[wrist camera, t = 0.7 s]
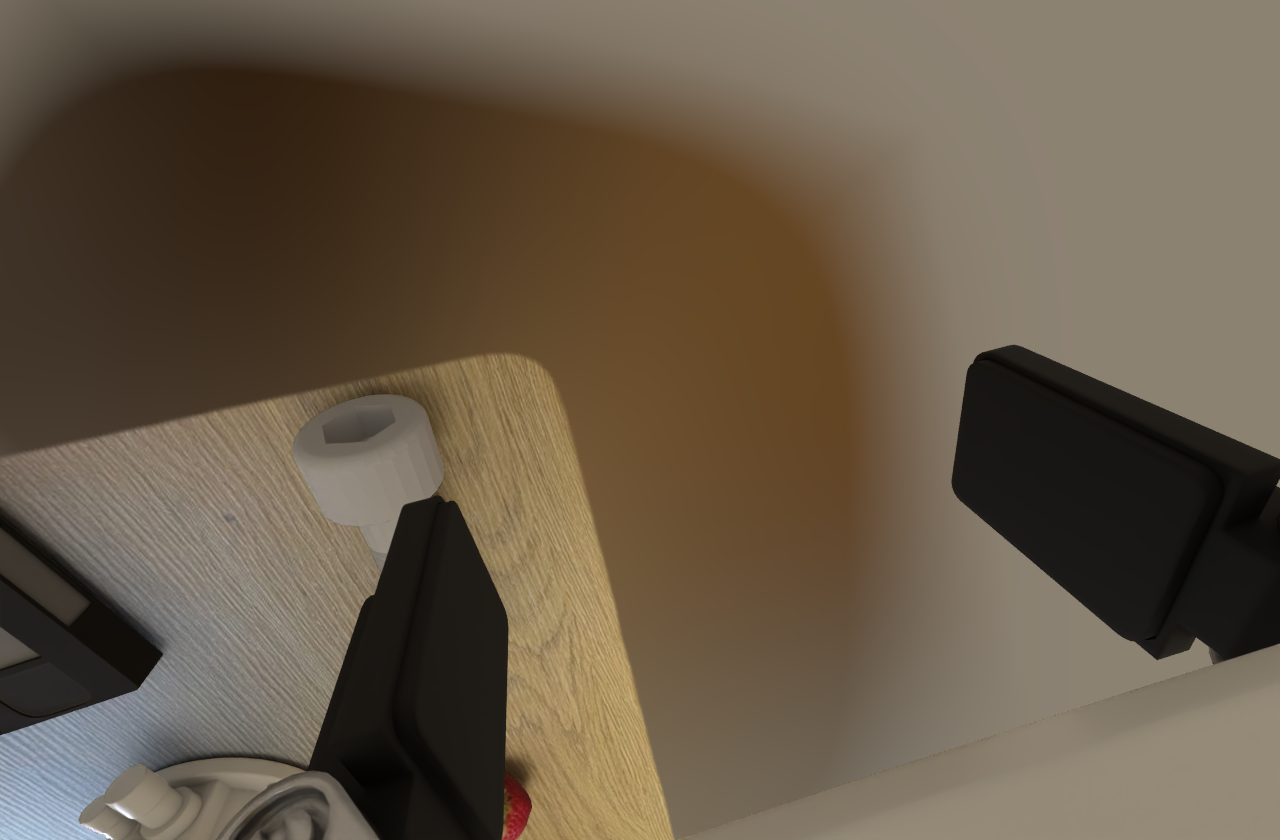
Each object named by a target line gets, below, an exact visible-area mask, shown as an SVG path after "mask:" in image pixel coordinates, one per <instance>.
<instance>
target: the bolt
mask: <svg viewBox="0 0 1280 840" xmlns="http://www.w3.org/2000/svg"><path fill="white" fill-rule="evenodd" d="M292 454H293V457H294V460H295V462H296V464H297V466H298V467H299V469H300V471H301V473H302V475H303V477H304V479H305V481H306V483H307V484H308V486H309V488H310V490H311V492H312V494H313V496H314V498H315V500H316V501H317V503H318V505H319V507H320V509H321V511H322V513H323V515H324V516H325V517H326V518H328V519H329V520H330V521H332V522H335V523H337V524H340V525H344V526H359V528H360V530H361V532H362V534H363V536H364V538H365V540H366V542H367V544H368V546H369V549H370V551H371V553H372V555H373V557H374V559H375V561H376V563H377V565H378V567H379V569H380V571H381V573H382V569H383V566H384V563H385V560H386V557H387V554H388V550H389V547H390V544H391V541H392V538H393V534H394V531H395V528H396V525H397V522H398V519H399V515H400V512H401V509H402V507H403V505H405V504H408V503H411V502H415V501H419V500H423V499H427V498H430V497H431V496H432V495H433V494H434V493H435V492H436V491H437V489H438V488H439V486H440V484H441V483H442V481H443V478H444V474H445V467H444V464H443V461H442V458H441V455H440V451H439V448H438V445H437V442H436V439H435V436H434V433H433V430H432V427H431V424H430V421H429V418H428V415H427V412H426V411H425V409H424V408H423V407H422V405H421V404H420V403H418V402H416V401H415V400H413V399H411V398H408V397H405V396H400V395H393V394H379V395H369V396H364V397H359V398H355V399H352V400H349V401H345V402H343V403H340V404H338V405H335V406H333V407H331V408H329V409H327V410H325V411H323V412H321V413H320V414H318V415H317V416H315V417H314V418H312V419H311V420H310V421H309V422H308V423H307V424H306V425H305V426H303V427H302V428H301V429H300V431H299V432H298V434H297V435H296V437H295V439H294V442H293V446H292Z"/></svg>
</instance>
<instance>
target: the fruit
mask: <svg viewBox="0 0 1280 840" xmlns="http://www.w3.org/2000/svg"><path fill="white" fill-rule="evenodd" d="M531 809H532V804H531V799H530V797H529V795H528V793H527V792H526V790H525V789H524V788H522V786H521V784H520V783H518V781H517V780H515V779H514V778H513V777H511V776H510V775H508V774H506V773H505V784H504V824H503V835H502V840H516V839H517V838H518V837H519V836H520V835H521V833H522V832H523V830H524V828H525V826H526V824H527V821H528V818H529V815H530V812H531Z"/></svg>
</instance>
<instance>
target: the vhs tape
mask: <svg viewBox="0 0 1280 840" xmlns="http://www.w3.org/2000/svg"><path fill="white" fill-rule="evenodd" d="M162 656H163V653H162V652H161V651H160V650H159V649H157V648H156V647H155V646H154V645H153V644H151V643H150V642H149V641H148V640H147V639H145V638H144V637H143V636H142V635H141V634H140V633H138V632H137V631H136V630H135V629H134V628H132V627H131V626H130V625H129V624H128V623H126V622H125V621H124V620H123V619H122V618H120V617H119V616H118V615H117V614H116V613H115V612H113V611H112V610H111V609H110V608H109V607H107V606H106V605H105V604H104V603H103V602H101V601H100V600H99V599H98V598H97V597H96V596H94V595H93V594H92V593H91V592H90V591H88V590H87V589H86V588H85V587H84V586H82V585H81V584H80V583H79V582H78V581H76V580H75V579H74V578H73V577H72V576H71V575H69V574H68V573H67V572H66V571H65V570H63V569H62V568H61V567H60V566H59V565H57V564H56V563H55V562H54V561H53V560H51V559H50V558H49V557H48V556H47V555H46V554H44V553H43V552H42V551H41V550H40V549H38V548H37V547H36V546H35V545H34V544H32V543H31V542H30V541H29V540H28V539H26V538H25V537H24V536H23V535H22V534H21V533H19V532H18V531H17V530H16V529H15V528H13V527H12V526H11V525H10V524H9V523H7V522H6V521H5V520H4V519H3V518H2V517H0V735H3V734H6V733H9V732H12V731H15V730H18V729H21V728H25V727H28V726H31V725H34V724H37V723H40V722H43V721H46V720H49V719H52V718H55V717H58V716H61V715H64V714H67V713H70V712H73V711H76V710H79V709H82V708H85V707H88V706H91V705H94V704H97V703H100V702H103V701H106V700H109V699H112V698H115V697H118V696H121V695H123V694H126V693H129V692H132V691H135V690H137V689H138V688H139V687H140V686H141V684H142V683H143V682H144V680H145V679H146V677H147V676H148V675H149V673H150V672H151V671H152V669H153V668H154V666H155V665H156V664H157V662H158V661H159V660H160V658H161V657H162Z"/></svg>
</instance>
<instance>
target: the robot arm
mask: <svg viewBox="0 0 1280 840" xmlns="http://www.w3.org/2000/svg"><path fill="white" fill-rule="evenodd" d="M1279 479H1280V459H1278V458H1276V457H1273V456H1271V455H1269V454H1267V453H1264V452H1262V451H1260V450H1257V449H1255V448H1252V447H1250V446H1248V445H1246V444H1244V443H1241V442H1239V441H1237V440H1235V439H1232V438H1230V437H1228V436H1225V435H1223V434H1220V433H1218V432H1216V431H1214V430H1212V429H1209V428H1207V427H1205V426H1202V425H1200V424H1198V423H1195V422H1193V421H1191V420H1189V419H1186V418H1184V417H1182V416H1179V415H1177V414H1175V413H1173V412H1170V411H1168V410H1166V409H1163V408H1161V407H1159V406H1156V405H1154V404H1152V403H1150V402H1147V401H1145V400H1143V399H1140V398H1138V397H1136V396H1134V395H1131V394H1129V393H1127V392H1124V391H1122V390H1120V389H1118V388H1115V387H1113V386H1111V385H1108V384H1106V383H1104V382H1101V381H1099V380H1097V379H1095V378H1092V377H1090V376H1088V375H1085V374H1083V373H1081V372H1079V371H1076V370H1074V369H1072V368H1069V367H1067V366H1065V365H1062V364H1060V363H1058V362H1056V361H1053V360H1051V359H1049V358H1046V357H1044V356H1042V355H1039V354H1037V353H1035V352H1033V351H1030V350H1028V349H1026V348H1023V347H1021V346H1017V345H1009V346H1005V347H1002V348H998V349H994V350H990V351H986V352H982V353H981V354H979V355H977V357H976V358H975V360H974V362H973V364H971V365H970V366H969V368H968V371H967V376H966V383H965V390H964V397H963V404H962V411H961V418H960V425H959V432H958V439H957V446H956V453H955V461H954V467H953V474H952V488H953V490H954V493H955V495H956V496H957V498H958V499H959V500H960V501H961V502H963V503H964V504H965V505H966V506H967V507H969V508H970V509H971V510H972V511H973V512H974V513H976V514H977V515H978V516H979V517H980V518H981V519H983V520H984V521H985V522H986V523H987V524H989V525H990V526H991V527H992V528H993V529H994V530H996V531H997V532H998V533H999V534H1000V535H1002V536H1003V537H1004V538H1005V539H1006V540H1007V541H1009V542H1010V543H1011V544H1012V545H1013V546H1014V547H1016V548H1017V549H1018V550H1019V551H1020V552H1022V553H1023V554H1024V555H1025V556H1026V557H1028V558H1029V559H1030V560H1031V561H1032V562H1033V563H1035V564H1036V565H1037V566H1038V567H1039V568H1040V569H1042V570H1043V571H1044V572H1045V573H1046V574H1048V575H1049V576H1050V577H1051V578H1053V580H1055V581H1056V582H1057V583H1058V584H1059V585H1061V586H1062V587H1063V588H1064V589H1065V590H1066V591H1068V592H1069V593H1070V594H1071V595H1072V596H1074V597H1075V598H1076V599H1077V600H1078V601H1079V602H1081V603H1082V604H1083V605H1084V606H1085V607H1087V608H1088V609H1089V610H1090V611H1091V612H1092V613H1094V614H1095V615H1096V616H1097V617H1098V618H1099V619H1101V620H1102V621H1103V622H1104V623H1106V624H1107V625H1108V626H1109V627H1110V628H1111V629H1112V630H1114V631H1115V632H1116V633H1117V634H1119V635H1120V636H1122V637H1123V638H1125V639H1127V640H1130V641H1135V642H1136V643H1137V644H1138V645H1140V646H1141V647H1142V648H1143V649H1144V650H1146V651H1147V652H1148V653H1149V654H1150V655H1152V656H1153V657H1154V658H1155V659H1156V660H1159V659H1162V658H1165V657H1168V656H1171V655H1174V654H1178V653H1181V652H1184V651H1187V650H1189V649H1190V648H1191V645H1192V643H1193V642H1194V640H1195V638H1196V637H1197V638H1198V639H1199V640H1201V641H1202V642H1203V643H1205V644H1206V645H1207V646H1209V654H1210V657H1211V660H1212V663H1213V665H1211V666H1208V667H1205V668H1202V669H1199V670H1195V671H1192V672H1189V673H1186V674H1183V675H1180V676H1177V677H1173V678H1170V679H1167V680H1164V681H1161V682H1158V683H1154V684H1151V685H1148V686H1145V687H1142V688H1139V689H1136V690H1132V691H1129V692H1126V693H1123V694H1120V695H1117V696H1114V697H1111V698H1107V699H1105V700H1101V701H1098V702H1095V703H1092V704H1089V705H1086V706H1083V707H1080V708H1076V709H1073V710H1071V711H1067V712H1064V713H1061V714H1058V715H1055V716H1052V717H1049V718H1046V719H1043V720H1039V721H1036V722H1033V723H1030V724H1027V725H1024V726H1021V727H1018V728H1015V729H1012V730H1008V731H1005V732H1002V733H999V734H996V735H993V736H990V737H987V738H984V739H981V740H978V741H975V742H972V743H969V744H965V745H962V746H959V747H956V748H953V749H950V750H947V751H944V752H941V753H938V754H935V755H932V756H929V757H926V758H922V759H919V760H916V761H913V762H910V763H907V764H904V765H901V766H898V767H895V768H892V769H889V770H885V771H882V772H879V773H877V774H873V775H870V776H868V777H864V778H861V779H859V780H855V781H852V782H849V783H846V784H843V785H840V786H837V787H834V788H831V789H828V790H825V791H822V792H819V793H816V794H813V795H810V796H807V797H804V798H801V799H798V800H795V801H792V802H789V803H786V804H783V805H780V806H777V807H774V808H770V809H767V810H764V811H761V812H758V813H755V814H753V815H749V816H746V817H743V818H740V819H737V820H734V821H731V822H729V823H725V824H722V825H719V826H716V827H713V828H710V829H707V830H704V831H701V832H698V833H695V834H692V835H689V836H686V837H683V838H680V839H677V840H1280V488H1279V487H1277V486H1276V485H1277V483H1278V481H1279ZM507 666H508V619H507V614H506V611H505V608H504V605H503V603H502V601H501V599H500V597H499V594H498V592H497V590H496V588H495V586H494V584H493V581H492V579H491V577H490V575H489V573H488V570H487V568H486V566H485V564H484V562H483V559H482V557H481V555H480V553H479V551H478V548H477V546H476V544H475V542H474V540H473V537H472V535H471V533H470V531H469V529H468V526H467V524H466V522H465V520H464V518H463V515H462V513H461V511H460V509H459V507H458V505H457V503H456V502H455V501H449V502H445V501H444V499H443V498H442V497H441V496H434V497H430V498H427V499H423V500H419V501H415V502H411V503H408V504H405V505H403V507H402V509H401V512H400V515H399V519H398V522H397V525H396V528H395V531H394V534H393V538H392V541H391V544H390V547H389V550H388V554H387V557H386V560H385V563H384V566H383V569H382V573H381V576H380V579H379V582H378V585H377V589H376V592H375V595H371V596H370V597H368V598H367V599H366V600H365V602H364V604H363V606H362V608H361V611H360V614H359V617H358V620H357V623H356V626H355V629H354V632H353V635H352V638H351V641H350V644H349V647H348V650H347V653H346V656H345V659H344V662H343V665H342V668H341V671H340V674H339V677H338V680H337V683H336V686H335V689H334V692H333V695H332V698H331V701H330V704H329V707H328V710H327V713H326V716H325V719H324V722H323V725H322V728H321V731H320V734H319V737H318V740H317V743H316V746H315V749H314V752H313V755H312V758H311V761H310V764H309V767H308V770H307V771H304V770H302V769H300V768H297V767H293V766H290V765H287V764H284V763H280V762H274V761H269V760H264V759H253V758H213V759H204V760H196V761H191V762H187V763H182V764H178V765H174V766H171V767H168V768H165V769H162V770H159V771H157V772H153V771H152V770H150V769H149V768H147V767H146V766H145V765H143V764H140V765H135V766H133V767H131V768H129V769H128V770H126V771H124V772H123V773H122V774H121V775H120V776H118V777H117V778H116V779H115V780H114V781H113V782H112V784H111V785H110V786H109V787H108V789H107V790H106V793H105V795H102V796H100V797H98V798H96V799H95V800H94V801H92V802H91V803H90V804H89V805H88V806H87V807H86V808H85V809H84V811H83V812H82V813H81V815H80V818H79V822H80V824H81V825H83V826H85V827H87V828H88V829H90V830H92V831H93V832H95V833H97V834H102V835H104V836H105V837H106V839H107V840H502V835H503V824H504V784H505V745H506V705H507Z"/></svg>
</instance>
